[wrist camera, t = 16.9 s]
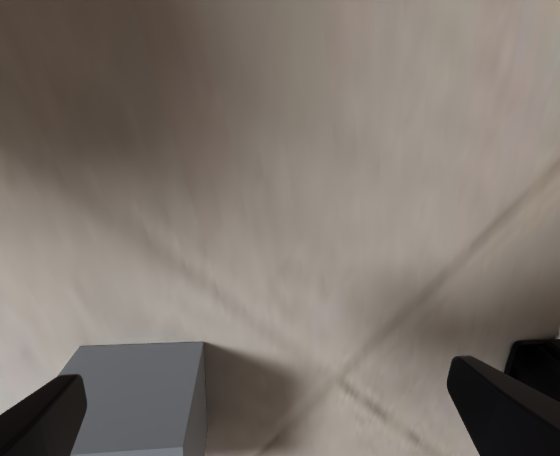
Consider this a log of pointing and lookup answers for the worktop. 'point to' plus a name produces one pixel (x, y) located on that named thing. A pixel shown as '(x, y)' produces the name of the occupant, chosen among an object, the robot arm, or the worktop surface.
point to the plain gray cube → (142, 399)
